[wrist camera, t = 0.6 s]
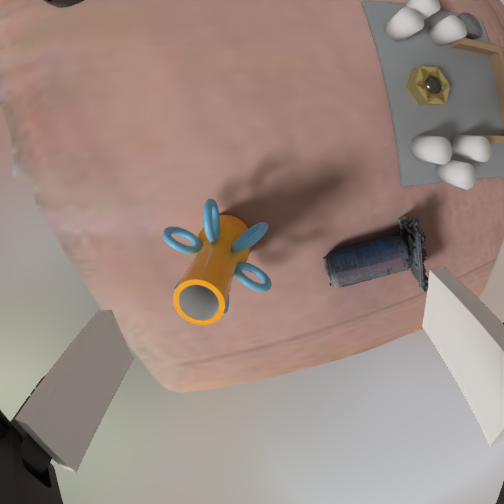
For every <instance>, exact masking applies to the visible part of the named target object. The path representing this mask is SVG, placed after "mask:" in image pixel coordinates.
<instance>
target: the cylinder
mask: <svg viewBox="0 0 504 504" xmlns="http://www.w3.org/2000/svg"><path fill="white" fill-rule="evenodd" d="M267 230H268V224H267V223H266V222H260V223H257V224H255V225H254V226H252V227H250V228H249V229H248V227H247V225H246V224H245V223H244V222H243V221H242V220H241V219H239V218H237V217H235V216H232V215H219V211H218V206H217V203H216V202H215V200H214V199H208V200H207V201H206V203H205V206H204V228H203V229H202V230H201V232H200V233H199V235H198V236H197V237H196V236H195V235H194V234H192V233H191V232H189V231H187V230H185V229H182V228H179V227H168V228H166V229H165V230H164V231H163V238H164V240H165V242H166V243H167V244H168V245H169V246H171V247H172V248H174V249H175V250H177V251H180V252H182V253H186V254H196V256H195V258H194V260H193V261H192V263H191V265H190V266H189V268H188V270H187V271H186V273H185V275H184V276H183V278H182V279H181V280H180V281H179V282H178V284H177V285H176V286H175V288H174V295H173V302H174V306H175V308H176V310H177V312H178V313H179V314H180V315H181V316H182V317H183V318H184V319H185V320H187V321H189V322H191V323H194V324H198V325H208V324H212V323H214V322H216V321H218V320H219V319H220V318H221V317H222V315H223V314H225V313H226V312H227V311H228V307H229V291H230V288H231V284H232V280H233V277H234V274H235V276H236V277H237V279H238V280H239V281H240V282H241V283H243V284H244V285H245V286H247V287H249V288H251V289H253V290H256V291H260V292H265V291H268V290H269V289H270V288H271V280H270V278H269V277H268V276H267V274H266V273H264V272H263V271H262V270H261V269H259V268H258V267H256V266H254V265H251V264H249V263H246V261H247V259H248V256H249V251H250V247H251V246H253V245H254V244H255V243H256V242H257V241H259V240H260V239H261V238H262V237H263V236H264V234H265V233H266V232H267ZM171 234H176V235H180V236H183V237H185V238H187V239H188V240H190V241H191V242H192V243H193V244H194V246H187V245H184V244H182V243H180V242H178V241H176V240H175V239H174V238H173V237H172V236H171ZM242 270H247V271H250V272H252V273H254V274H255V275H257V276H258V277H259V278H260V279H261V280H262V281H263V283H264V284H260V283H257V282H254V281H252V280H251V279H249V278H248V277H247V276H245V275H244V273H243V272H242Z"/></svg>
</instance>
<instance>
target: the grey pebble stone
mask: <svg viewBox="0 0 504 504" xmlns="http://www.w3.org/2000/svg"><path fill="white" fill-rule="evenodd" d="M457 17H458V18H459V19H460V20H461V21H462V22H463V23H464V24H465V26H466V29H467V35H466V37H467V38H469V39H472V40H474V39H477V38H480V37H481V36H482V29H481V26H480V24H479V22H478V21H477V20H476V19H475V18H474V17H473V16H472V15H471V14H469V13H462V14H460V15H458V16H457Z"/></svg>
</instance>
